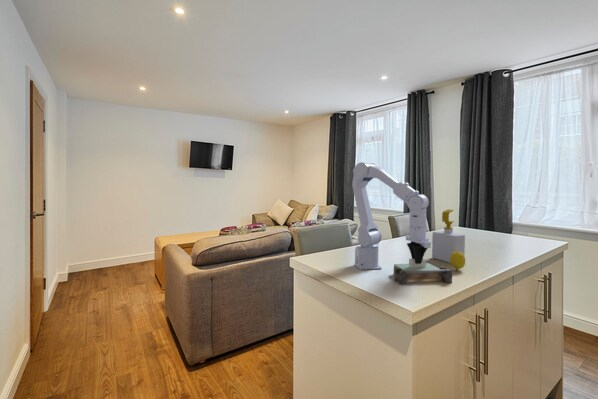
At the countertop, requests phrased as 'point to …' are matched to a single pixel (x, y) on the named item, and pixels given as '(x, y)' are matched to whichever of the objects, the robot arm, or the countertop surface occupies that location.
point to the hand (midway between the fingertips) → (417, 262)
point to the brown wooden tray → (422, 276)
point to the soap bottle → (447, 240)
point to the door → (419, 267)
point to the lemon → (457, 260)
